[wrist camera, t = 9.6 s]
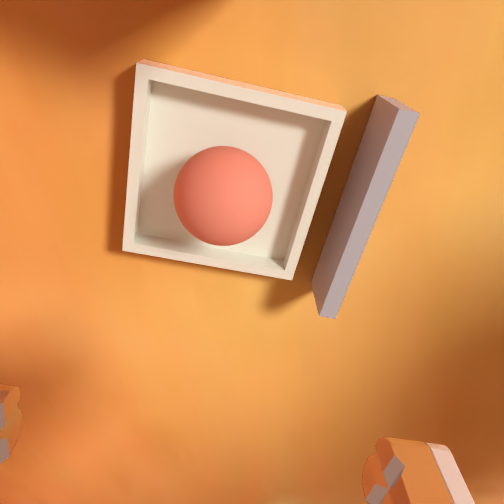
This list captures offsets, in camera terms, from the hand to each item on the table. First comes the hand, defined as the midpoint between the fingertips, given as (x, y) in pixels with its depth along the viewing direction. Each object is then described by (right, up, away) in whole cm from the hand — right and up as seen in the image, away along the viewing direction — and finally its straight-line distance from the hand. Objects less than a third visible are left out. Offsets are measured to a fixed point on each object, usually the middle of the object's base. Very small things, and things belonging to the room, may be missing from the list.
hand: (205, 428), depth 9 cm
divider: (+7, +7, +15) cm, 18 cm away
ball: (0, +7, +12) cm, 14 cm away
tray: (0, +8, +14) cm, 16 cm away
